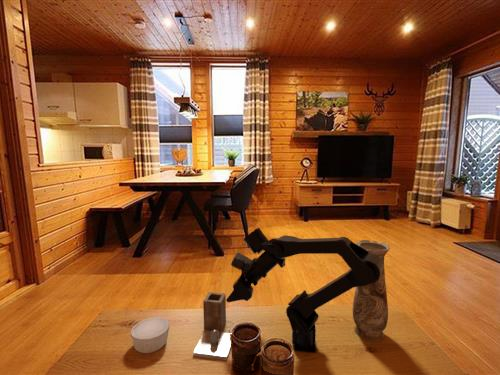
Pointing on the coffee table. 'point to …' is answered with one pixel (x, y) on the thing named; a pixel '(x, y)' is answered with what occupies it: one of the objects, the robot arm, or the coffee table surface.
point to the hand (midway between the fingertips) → (230, 294)
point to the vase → (371, 299)
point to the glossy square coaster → (213, 345)
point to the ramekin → (150, 334)
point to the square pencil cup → (214, 311)
